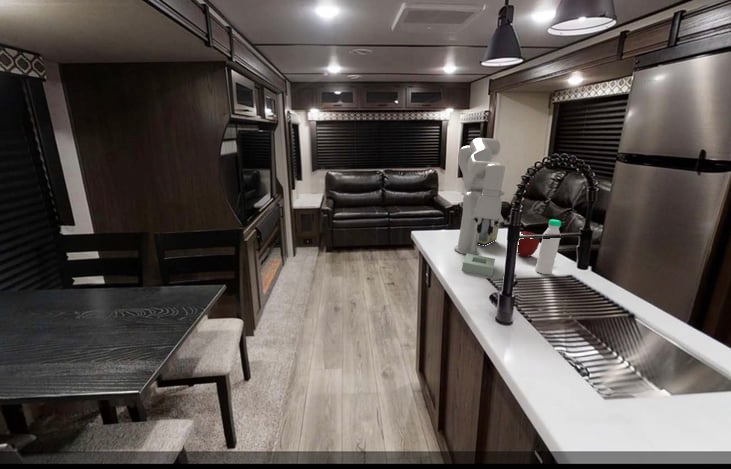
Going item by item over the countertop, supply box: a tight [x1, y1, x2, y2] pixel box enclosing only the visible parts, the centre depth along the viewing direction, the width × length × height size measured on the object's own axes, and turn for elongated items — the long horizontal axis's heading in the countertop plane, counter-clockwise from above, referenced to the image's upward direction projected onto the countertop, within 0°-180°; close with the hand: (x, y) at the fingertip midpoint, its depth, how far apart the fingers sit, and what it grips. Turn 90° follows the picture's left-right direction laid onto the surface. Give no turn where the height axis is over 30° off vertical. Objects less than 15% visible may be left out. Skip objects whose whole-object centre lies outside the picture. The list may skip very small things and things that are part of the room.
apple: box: [517, 230, 540, 258], centre depth 175 cm, size 12×12×13 cm
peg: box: [478, 218, 491, 242], centre depth 151 cm, size 4×4×11 cm
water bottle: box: [534, 218, 562, 275], centre depth 153 cm, size 7×7×25 cm
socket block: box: [461, 254, 496, 277], centre depth 156 cm, size 13×13×4 cm
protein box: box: [477, 219, 500, 247], centre depth 194 cm, size 10×16×16 cm
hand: (484, 233), depth 151 cm, fingers closed on peg, 4 cm apart
